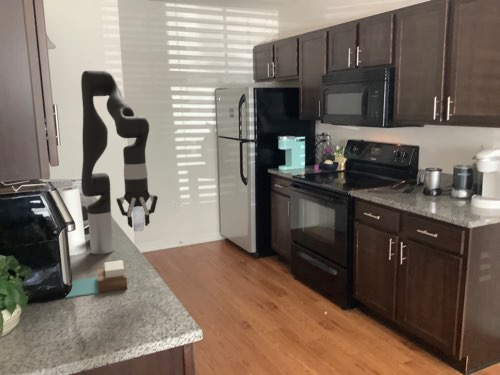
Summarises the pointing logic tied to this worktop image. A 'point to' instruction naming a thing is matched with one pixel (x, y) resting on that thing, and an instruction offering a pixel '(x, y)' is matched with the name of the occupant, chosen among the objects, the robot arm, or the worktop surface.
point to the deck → (110, 281)
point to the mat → (84, 287)
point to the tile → (114, 269)
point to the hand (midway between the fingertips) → (138, 225)
